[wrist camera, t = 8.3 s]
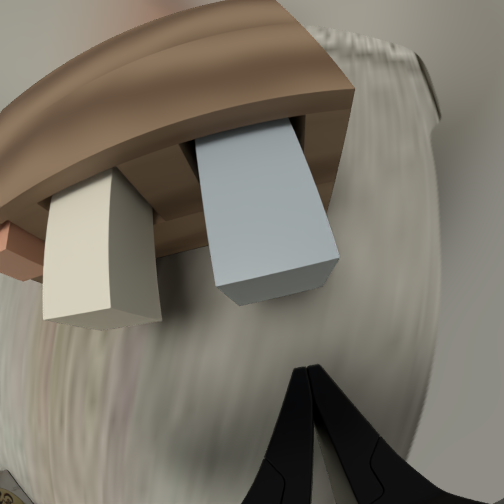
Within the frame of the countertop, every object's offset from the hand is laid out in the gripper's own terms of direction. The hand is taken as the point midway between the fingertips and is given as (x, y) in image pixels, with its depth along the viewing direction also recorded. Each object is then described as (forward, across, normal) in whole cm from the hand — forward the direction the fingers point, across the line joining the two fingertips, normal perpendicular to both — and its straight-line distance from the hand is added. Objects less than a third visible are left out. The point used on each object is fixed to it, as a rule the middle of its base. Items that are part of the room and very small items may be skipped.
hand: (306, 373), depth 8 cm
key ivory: (+5, +8, -2) cm, 10 cm away
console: (+14, +8, -5) cm, 17 cm away
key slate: (+6, +1, -3) cm, 6 cm away
